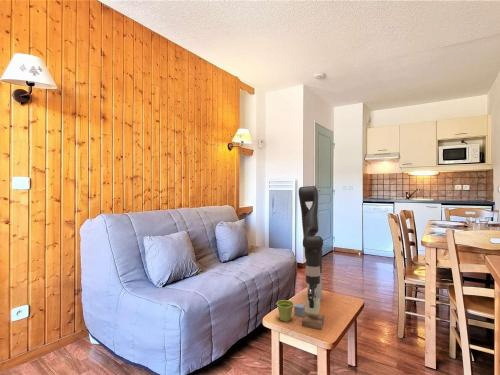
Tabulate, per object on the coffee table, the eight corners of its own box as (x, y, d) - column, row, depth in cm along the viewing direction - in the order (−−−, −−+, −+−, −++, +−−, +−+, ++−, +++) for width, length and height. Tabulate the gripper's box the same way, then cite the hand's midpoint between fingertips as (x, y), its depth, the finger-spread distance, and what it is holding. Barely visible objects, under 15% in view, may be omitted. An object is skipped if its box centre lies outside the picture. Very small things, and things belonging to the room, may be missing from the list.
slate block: (296, 311, 163) (296, 303, 163) (304, 313, 161) (304, 304, 161) (294, 315, 158) (294, 306, 158) (303, 316, 156) (303, 308, 156)
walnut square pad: (305, 317, 155) (305, 311, 155) (324, 320, 152) (324, 315, 152) (301, 326, 146) (301, 319, 146) (321, 329, 142) (321, 323, 142)
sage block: (308, 307, 153) (308, 296, 153) (319, 309, 150) (319, 298, 150) (306, 312, 148) (306, 301, 147) (317, 314, 145) (317, 303, 145)
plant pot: (279, 324, 148) (279, 307, 148) (274, 316, 158) (274, 300, 157) (296, 322, 150) (296, 306, 150) (290, 314, 159) (290, 299, 159)
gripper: (308, 269, 157) (308, 299, 157) (302, 276, 144) (302, 309, 144) (322, 270, 154) (322, 301, 154) (317, 278, 141) (317, 312, 141)
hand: (312, 305), depth 149 cm, fingers closed on sage block, 6 cm apart
